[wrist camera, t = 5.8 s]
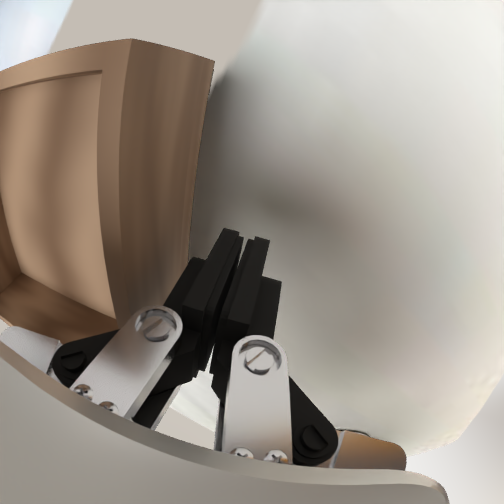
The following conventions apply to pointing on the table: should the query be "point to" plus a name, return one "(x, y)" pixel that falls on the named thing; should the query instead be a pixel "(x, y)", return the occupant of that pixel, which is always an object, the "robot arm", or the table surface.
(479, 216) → the table surface
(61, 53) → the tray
